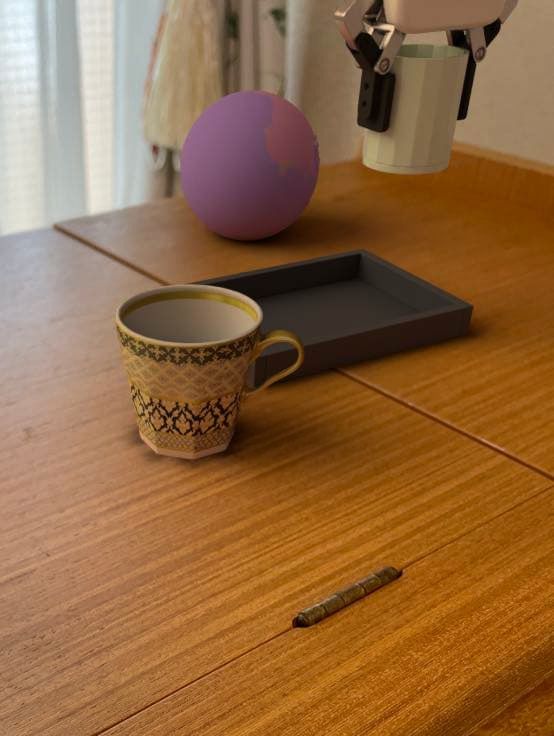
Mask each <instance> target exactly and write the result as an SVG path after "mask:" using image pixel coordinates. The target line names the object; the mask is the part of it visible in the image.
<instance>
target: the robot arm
mask: <svg viewBox="0 0 554 736" xmlns="http://www.w3.org/2000/svg"><path fill="white" fill-rule="evenodd" d="M518 2H519V0H343V1H342V3H341V4H340V5H339V7H338V8H336V10H335V11H334V13H333V22H334V24H335V25H336V28H337V29H338V31H339V33H340V34H341V36H342V38H343V39H344V40H345V46H346V48H347V50H348V51H349V52H350V55H352V57H353V58H354V60H355V61H354V62H355V66H356V68H357V69H359V70H361V77H360V85H359V93H358V100H357V101H358V102H357V115H356V116H357V117H356V124H357V126H359V127H361V128H363V127H364V129H365V128H366V129H369V130H372V131H375V132H378V133H381V132H386V131H387V129H388V128H389V124H390V116H391V109H392V102H393V95H394V88H395V81H396V77H395V74H393V73H389V70H390V68H391V66H392V64H393V62H394V60H395V58H396V56H397V53H398V51H399V49H400V47H401V45H402V44H404V41H405V39H406V37H407V35H417V34H428V33H439V32H445V35H446V40H447V45H452V46H457V47H461V48H464V49H466V50H468V51H470V53H469V58H468V63H467V69H466V74H465V80H464V85H463V90H462V96H461V101H460V107H459V112H458V118H457V122H458V121H464V120H466V118H467V117H468V114H469V113H468V112H469V106H470V100H471V96H472V91H473V85H474V81H475V75H476V70H477V66H478V65H477V63H481V62H483V61H484V59H485V58H486V56H487V52H488V51H487V50H488V49H487V48H488V47H490V45H491V44H492V42H493V41H494V40H495V39H496V37H497V36H498V35H499V34H500V31H501V28H502V25H504V23H505V22H506V21H507V19H508V18H509V17H510V15H511V14H512V13H513V11H514V10H515V9H516V7H517V5H518ZM365 24H366V25H367V26H369V29H368V31H367V29H366V25H365ZM379 47H381V49H380V48H379Z"/></svg>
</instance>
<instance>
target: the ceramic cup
mask: <svg viewBox="0 0 554 736" xmlns="http://www.w3.org/2000/svg"><path fill="white" fill-rule="evenodd" d="M185 284H186V285H182V284H171V285H164V286H158V287H152V288H149V289H146V290H143V291H140V292H139V291H138V292H137V293H135V294H133V295H131V296H129V297H128V298H126V299H125V300H123V301H122V302H121V303H120V304H119V305H118V306H117V308H116V310H115V314H114V319H115V327H116V335H117V340H118V344H119V349H120V355H121V359H122V363H123V366H124V370H125V373H126V376H127V380H128V381H127V382H128V386H129V391H130V396H131V399H132V400H131V401H132V405H133V409H134V413H135V418H136V424H137V428H138V431H139V432H138V433H139V437H140V438H141V440H142V441H143V442H144V443H145V444H146V445H147V446H148V447H149V448H150V449H151V450H153V451H154V452H155V454H157V455H161V456H167V457H174V458H180V459H187V460H198V459H201V458H203V457H207V456H210V455H214V454H217V453H221V452H223V451H226V450H227V449H228V447H229V445H230V442H231V440H232V438H233V435H234V433H235V429H236V424H237V422H238V421H237V420H238V417H239V413H240V411H241V409H242V408H243V407H245V406H246V404H247V403H248V402H249V401H250V400H251V399H252V398H253V397H254V396H256V395H258V394H260V393H262V392H263V391H265V390H266V389H267V388H268V387H269V386H270V385H272V384H274V383H276V382H275V381H277V380H279V379H281V378H283V377H285V376H287V375H289V374H291V373H292V372H294V371H295V370H296V369H297V368H298V367H299V366H300V365H301V363H302V362H303V360H304V355H305V351H304V346H303V344H302V341H301V340H300V338H299V337H298V336H297V335H296V334H294V333H292V332H289V331H286V330H275V331H271V332H269V333H267V334H265V335H262V334H261V332H260V330H261V326H262V322H263V318H264V317H263V311H262V309H261V307H260V306H259V305H258V304H257V303H256V302H255V301H254V300H252V299H251V298H249V297H247V296H246V295H243V294H241V293H239V292H236V291H233V290H229V289H225V288H221V287H215V286H208V285H192V284H187V283H185ZM276 342H289V343H292V344H293V345H295V346H296V348H297V349H298V352H299V357H298V360H297V361H296V362H295V363H294V364H293V365H292V366H290V367H288V368H286V369H284V370H283V371H281V372H279V373H277V374H275V375H273V376H271V377H270V378H268V379H267V380H266V381H265V382H263V383H262V384H261V385H260V386H258V387H252V388H251V387H249V385H248V384H247V378H248V375H249V372H250V368H251V364H252V363H253V362H254V361H255V359H256V358H257V357H258V356H259V355H260V354H261V352H262V350H263V349H265V348H266V347H267V346H269V345H271V344H273V343H276ZM273 382H274V383H273Z"/></svg>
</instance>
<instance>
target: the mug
mask: <svg viewBox="0 0 554 736" xmlns="http://www.w3.org/2000/svg"><path fill="white" fill-rule="evenodd" d="M381 47H382V46H380V47H379V48H380V49H381ZM469 53H470V51H468V50H466V49H464V48H461V47H457V46H452V45H448V44H441V43H428V42H423V43H422V42H410V43H404V42H403V43H402V45H401V47H400V49H399V51H398V53H397V56H396V58H395V60H394V62H393V64H392V66H391V68H390V70H389V73H393V74H395V77H396V81H395V88H394V95H393V102H392V109H391V116H390V124H389V128H388V129H387V131H386V132H381V133H378V132H375V131H372V130H369V129H366V128H364V127H362V128H364V136H363V144H362V151H361V155H362V156H361V157H362V158H361V163H362V164H363V165H364V166H365V167H367V168H368V169H371V170H374V171H377V172H381V173H385V174H391V175H392V174H393V175H403V176H404V175H406V176H415V175H417V176H418V175H429V174H435V173H440V172H441V171H444V170H446V169H447V168H448V167H449V165H450V160H451V155H452V149H453V145H454V139H455V133H456V128H457V122H458V120H457V118H458V112H459V107H460V101H461V96H462V90H463V85H464V80H465V74H466V69H467V63H468V58H469Z"/></svg>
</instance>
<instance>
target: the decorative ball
mask: <svg viewBox="0 0 554 736" xmlns="http://www.w3.org/2000/svg"><path fill="white" fill-rule="evenodd" d="M319 146H320V144H319V141H318V136H317V135H316V134H315V132H314V130H313V128H312V125H311V124H310V123H309V121H308V120H307V118H306V116H305V115H304V114H303V112H302V111H300V109H299V108H298V107H297V106H295V105H294V104H293V103H292V102H291V101H289V100H287V99H286V98H284V97H282V96H280V95H278V94H276V93H273V92H269V91H266V90H265V91H264V90H258V89H257V90H256V89H249V90H240V91H236V92H234V93H229V94H227V95H225V96H222V97H221V98H219V99H217V100H215V101H213V103H212V104H210V105H209V106H207V108H205V109H204V110H203V111H202V112H201V114H200V115H198V117H197V118H196V119H195V120H194V122H193V124H192V125H191V127H190V129H189V131H188V132H187V134H186V137H185V140H184V142H183V146H182V149H181V155H180V162H179V176H180V184H181V188H182V192H183V195H184V198H185V201H186V203H187V204H188V206H189V208H190V210H191V211H192V213H193V215H194V216H195V217H196V219H198V221H200V222H201V224H203V225H204V226H205V227H206V228H207V229H209V230H210V231H211V232H213V233H215V234H217V235H219V236H220V237H223V238H227V239H229V240H234V241H241V242H251V241H252V242H253V241H254V242H255V241H259V240H260V241H261V240H264V239H268V238H270V237H272V236H275V235H277V234H279V233H281V232H282V231H284V230H285V229H287V228H289V227H290V226H291V225H292V224H293V223H294V222H295V221H296V220H297V219H298V218H299V217H300V216H301V215H302V214H303V213H304V212H305V210H306V208H307V207H309V205H310V203H311V200H312V197H313V195H314V193H315V190H316V187H317V183H318V179H319V173H320V165H321V157H320V153H319V152H320V151H319Z"/></svg>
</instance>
